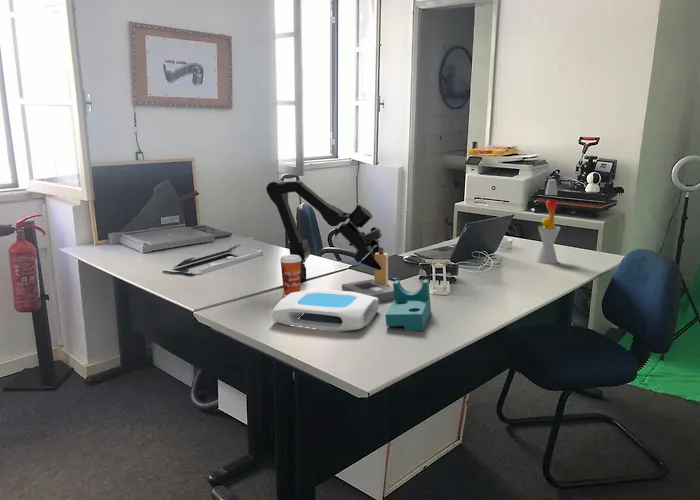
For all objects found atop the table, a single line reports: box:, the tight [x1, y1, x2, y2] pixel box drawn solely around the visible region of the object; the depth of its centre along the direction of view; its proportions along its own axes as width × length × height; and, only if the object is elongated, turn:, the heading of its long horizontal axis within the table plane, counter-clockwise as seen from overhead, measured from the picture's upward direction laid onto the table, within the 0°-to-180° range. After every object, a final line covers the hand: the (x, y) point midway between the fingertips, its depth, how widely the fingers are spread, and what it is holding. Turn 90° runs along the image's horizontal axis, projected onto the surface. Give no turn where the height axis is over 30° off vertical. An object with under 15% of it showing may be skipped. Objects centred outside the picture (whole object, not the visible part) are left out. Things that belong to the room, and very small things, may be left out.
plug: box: [373, 246, 389, 286], centre depth 213 cm, size 4×4×14 cm
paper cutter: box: [163, 244, 264, 276], centre depth 251 cm, size 18×45×6 cm, turn 148°
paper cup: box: [279, 254, 302, 297], centre depth 202 cm, size 8×8×14 cm
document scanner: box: [272, 288, 379, 333], centre depth 179 cm, size 21×28×6 cm
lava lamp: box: [535, 178, 561, 265], centre depth 241 cm, size 9×9×35 cm
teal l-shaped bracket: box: [385, 279, 432, 332], centre depth 176 cm, size 18×11×10 cm, turn 165°
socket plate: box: [341, 278, 394, 303], centre depth 201 cm, size 13×17×4 cm
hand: (383, 266), depth 212 cm, fingers open, 9 cm apart
